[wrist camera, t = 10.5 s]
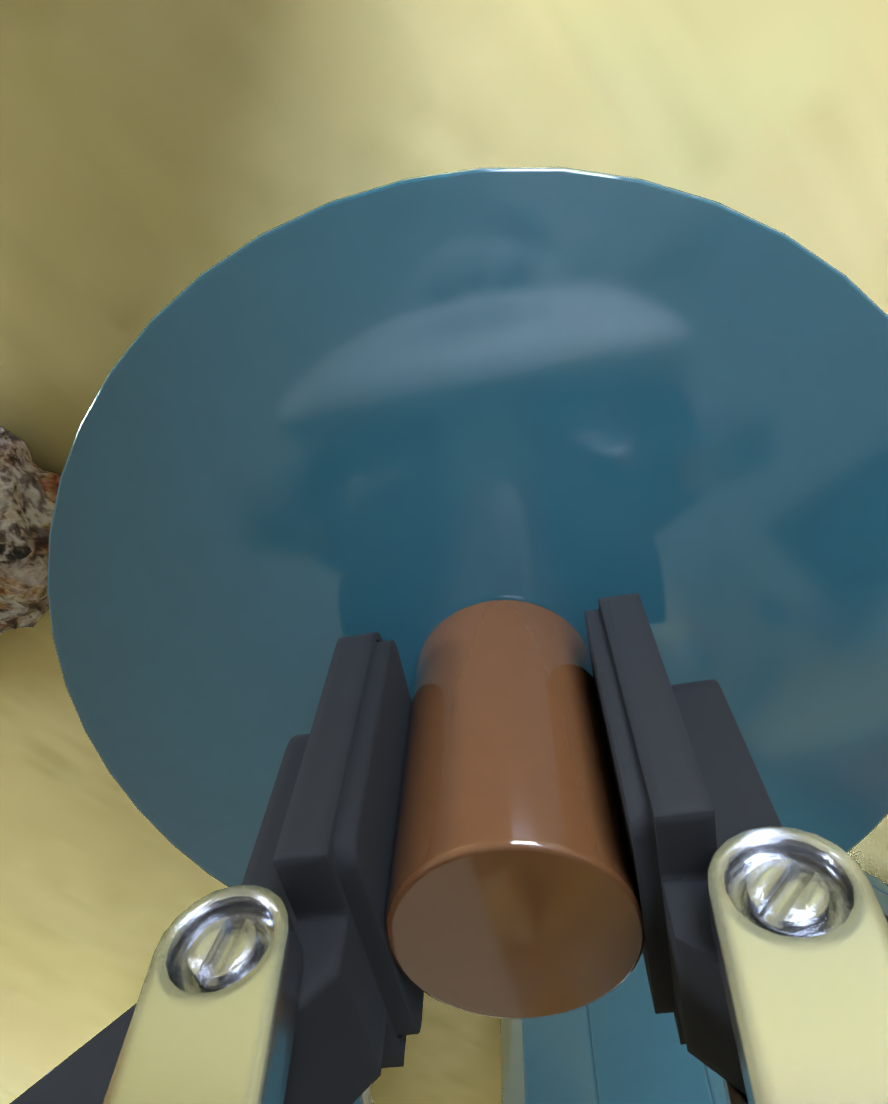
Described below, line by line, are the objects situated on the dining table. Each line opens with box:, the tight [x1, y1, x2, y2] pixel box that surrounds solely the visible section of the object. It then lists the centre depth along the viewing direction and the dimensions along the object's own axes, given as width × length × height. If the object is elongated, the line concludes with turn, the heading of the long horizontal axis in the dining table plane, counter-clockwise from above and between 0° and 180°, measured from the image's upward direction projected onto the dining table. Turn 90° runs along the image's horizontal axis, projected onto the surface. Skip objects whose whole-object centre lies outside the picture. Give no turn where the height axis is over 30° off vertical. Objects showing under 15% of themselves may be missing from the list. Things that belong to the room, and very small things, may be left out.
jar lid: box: [47, 167, 888, 1019], centre depth 10 cm, size 14×14×6 cm
